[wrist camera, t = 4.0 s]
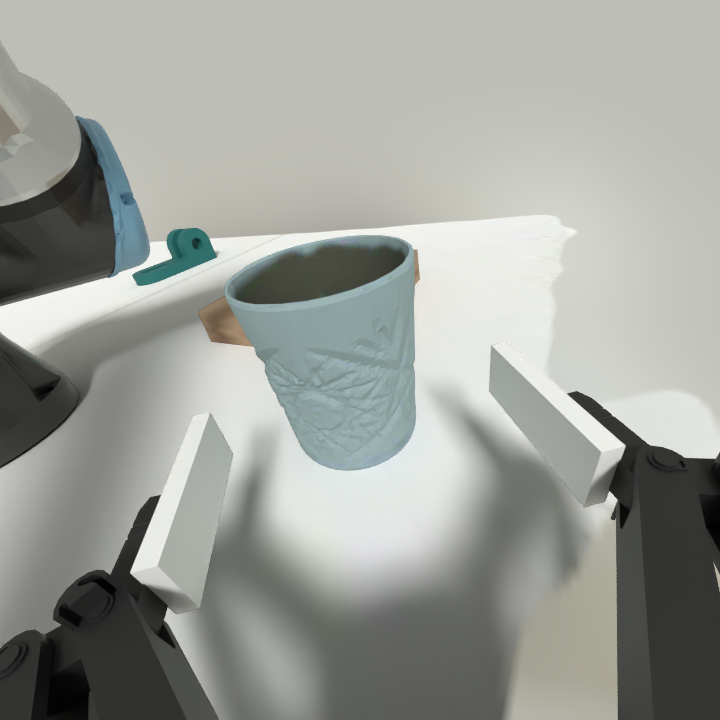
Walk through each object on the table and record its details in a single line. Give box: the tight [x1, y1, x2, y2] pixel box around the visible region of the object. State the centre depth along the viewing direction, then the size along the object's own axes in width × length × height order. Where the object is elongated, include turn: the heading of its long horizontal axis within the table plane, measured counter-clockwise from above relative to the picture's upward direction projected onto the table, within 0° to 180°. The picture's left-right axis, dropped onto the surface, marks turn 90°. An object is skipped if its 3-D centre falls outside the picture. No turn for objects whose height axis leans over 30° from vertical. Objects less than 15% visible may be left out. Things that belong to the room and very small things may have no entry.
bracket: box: [132, 228, 217, 286], centre depth 75 cm, size 18×7×8 cm, turn 148°
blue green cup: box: [224, 235, 416, 470], centre depth 21 cm, size 10×10×12 cm
